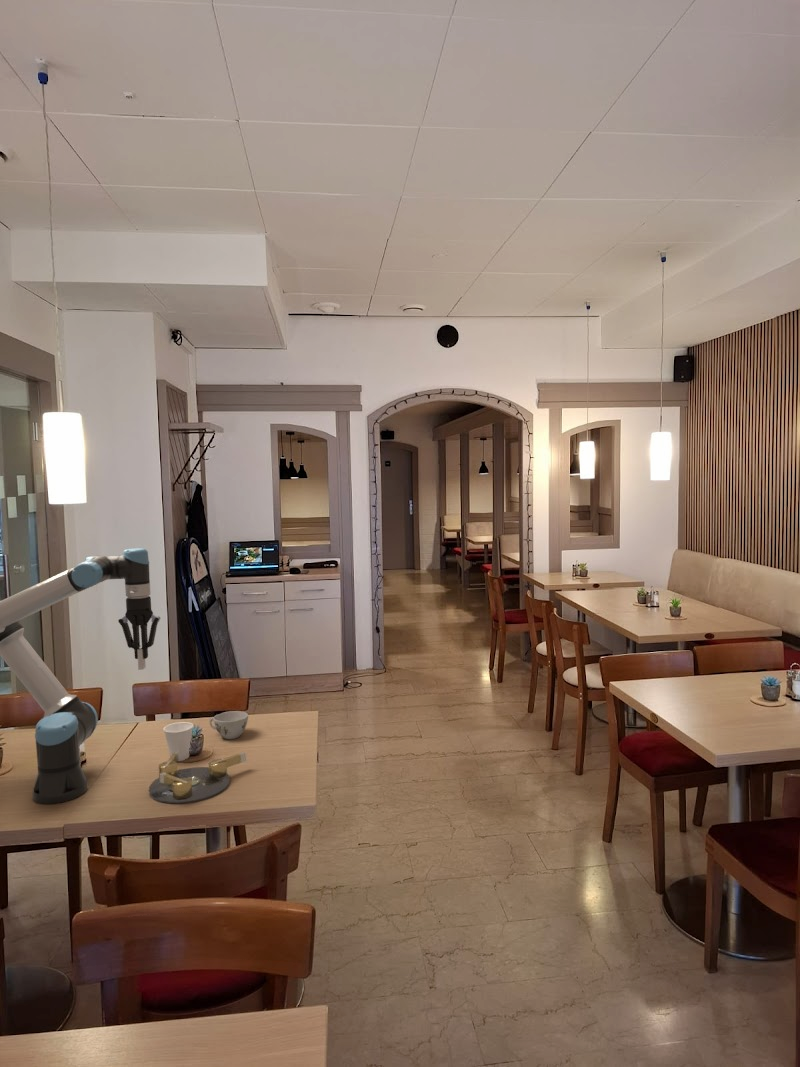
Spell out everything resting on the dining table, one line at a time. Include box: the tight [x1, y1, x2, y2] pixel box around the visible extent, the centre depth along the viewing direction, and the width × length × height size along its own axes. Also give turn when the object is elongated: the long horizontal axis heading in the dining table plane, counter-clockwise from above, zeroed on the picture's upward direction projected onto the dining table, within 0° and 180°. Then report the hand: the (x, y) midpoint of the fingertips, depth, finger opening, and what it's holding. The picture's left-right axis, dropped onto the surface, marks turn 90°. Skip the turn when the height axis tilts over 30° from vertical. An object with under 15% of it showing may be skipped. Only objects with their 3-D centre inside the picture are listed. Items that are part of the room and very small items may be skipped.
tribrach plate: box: [148, 766, 231, 805], centre depth 220 cm, size 24×24×2 cm
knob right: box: [208, 751, 247, 779], centre depth 227 cm, size 13×6×4 cm, turn 135°
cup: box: [162, 721, 194, 762], centre depth 242 cm, size 10×10×11 cm
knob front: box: [160, 772, 192, 799], centre depth 213 cm, size 13×6×4 cm, turn 53°
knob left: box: [158, 751, 179, 779], centre depth 227 cm, size 13×6×4 cm, turn 3°
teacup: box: [209, 710, 249, 740], centre depth 262 cm, size 15×12×8 cm
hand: (142, 668), depth 229 cm, fingers closed
